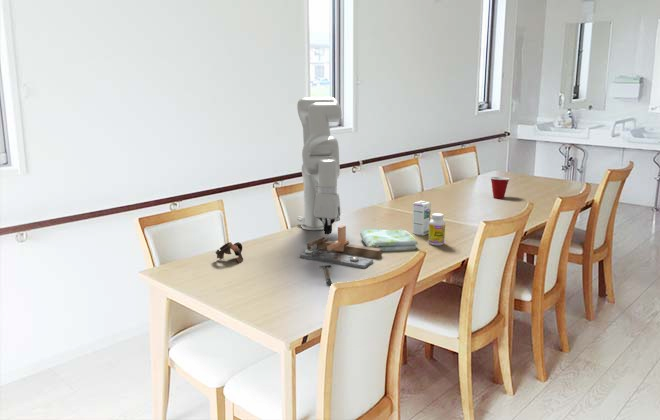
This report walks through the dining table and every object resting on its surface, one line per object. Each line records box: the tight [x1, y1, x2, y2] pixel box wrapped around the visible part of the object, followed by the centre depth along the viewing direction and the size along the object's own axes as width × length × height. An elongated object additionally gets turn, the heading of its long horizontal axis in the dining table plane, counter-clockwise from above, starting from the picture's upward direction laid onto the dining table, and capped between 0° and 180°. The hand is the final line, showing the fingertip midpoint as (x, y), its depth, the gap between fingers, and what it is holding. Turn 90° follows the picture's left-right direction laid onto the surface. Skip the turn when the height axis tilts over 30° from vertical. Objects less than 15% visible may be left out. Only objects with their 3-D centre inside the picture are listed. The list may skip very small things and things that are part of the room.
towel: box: [359, 228, 419, 252], centre depth 245 cm, size 18×21×5 cm
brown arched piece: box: [215, 241, 244, 264], centre depth 226 cm, size 12×10×8 cm
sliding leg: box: [326, 224, 350, 253], centre depth 232 cm, size 4×14×10 cm, turn 152°
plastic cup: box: [490, 176, 510, 200], centre depth 332 cm, size 11×11×12 cm
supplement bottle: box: [428, 212, 446, 246], centre depth 245 cm, size 7×7×13 cm
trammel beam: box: [306, 236, 383, 259], centre depth 231 cm, size 28×14×5 cm, turn 62°
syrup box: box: [412, 200, 432, 236], centre depth 260 cm, size 6×6×14 cm
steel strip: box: [299, 248, 374, 269], centre depth 226 cm, size 28×8×2 cm, turn 62°
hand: (327, 233), depth 238 cm, fingers closed
